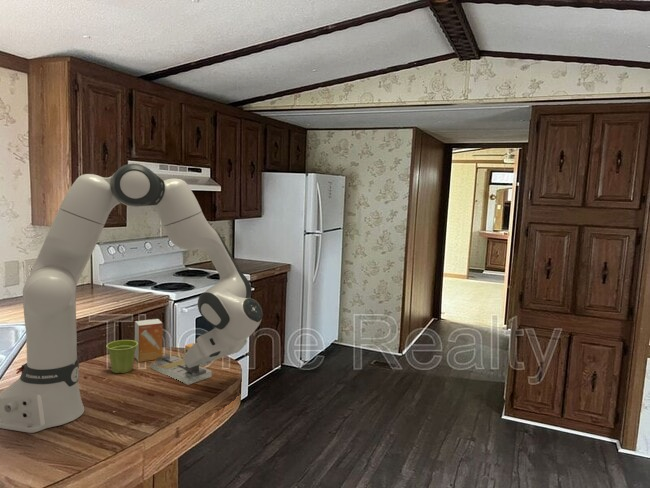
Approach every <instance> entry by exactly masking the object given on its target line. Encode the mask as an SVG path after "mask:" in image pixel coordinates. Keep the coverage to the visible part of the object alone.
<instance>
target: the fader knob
mask: <svg viewBox="0 0 650 488" xmlns="http://www.w3.org/2000/svg"><path fill="white" fill-rule="evenodd" d="M195 343H196V342H195ZM195 343H194V342H193V343H189V344H186V345H184V349H185V353H186V352H187V351H188V350H189V349H190V347H191V346H192V345H193V344H195ZM199 366H200V365H197V366H194V367H191V368H188V367H187V365H186V364H185V371H188V372H190V373H192V372H195V371H198V370H199Z"/></svg>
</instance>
